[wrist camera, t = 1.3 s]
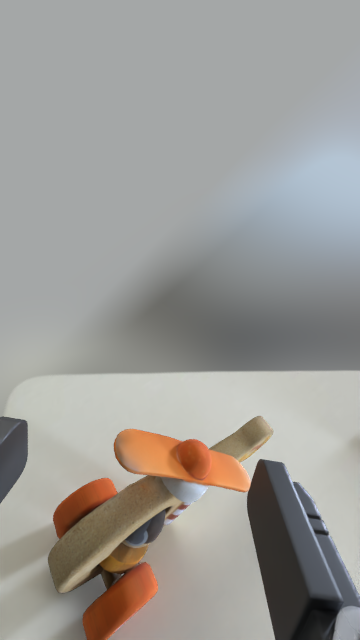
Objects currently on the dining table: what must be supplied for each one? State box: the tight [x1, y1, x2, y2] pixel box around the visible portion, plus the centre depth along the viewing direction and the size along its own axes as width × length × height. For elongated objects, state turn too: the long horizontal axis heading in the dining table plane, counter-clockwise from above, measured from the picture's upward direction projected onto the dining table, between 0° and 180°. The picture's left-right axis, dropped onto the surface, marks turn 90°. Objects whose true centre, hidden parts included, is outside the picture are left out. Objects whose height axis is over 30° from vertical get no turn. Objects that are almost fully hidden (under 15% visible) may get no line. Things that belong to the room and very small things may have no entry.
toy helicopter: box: [48, 416, 273, 640], centre depth 21 cm, size 8×21×14 cm, turn 126°
